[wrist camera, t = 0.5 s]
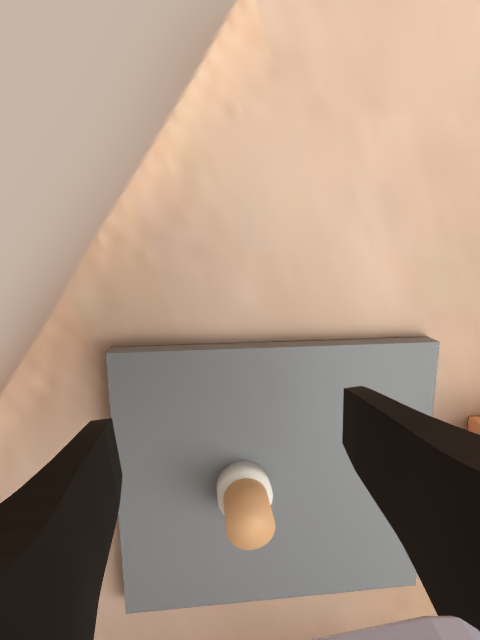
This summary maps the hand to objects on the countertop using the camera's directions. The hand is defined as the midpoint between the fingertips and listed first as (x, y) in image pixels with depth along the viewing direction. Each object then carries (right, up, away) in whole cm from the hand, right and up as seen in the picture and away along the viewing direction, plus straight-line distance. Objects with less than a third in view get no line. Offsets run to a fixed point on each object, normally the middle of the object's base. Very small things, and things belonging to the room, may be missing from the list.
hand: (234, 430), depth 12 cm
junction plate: (+2, -6, +12) cm, 13 cm away
